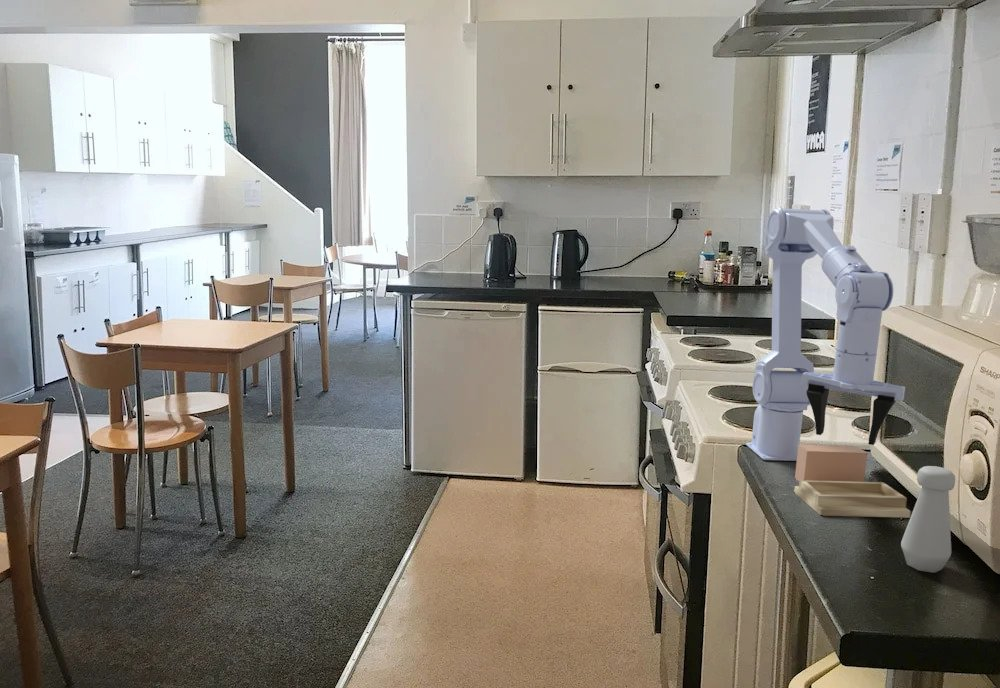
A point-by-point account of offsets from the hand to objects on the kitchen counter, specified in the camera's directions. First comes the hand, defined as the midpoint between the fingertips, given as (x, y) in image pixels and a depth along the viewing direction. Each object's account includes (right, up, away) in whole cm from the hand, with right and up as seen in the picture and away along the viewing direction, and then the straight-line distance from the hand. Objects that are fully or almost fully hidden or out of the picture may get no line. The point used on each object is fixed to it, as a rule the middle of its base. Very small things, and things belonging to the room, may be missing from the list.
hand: (845, 438), depth 135 cm
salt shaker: (+1, -14, -22) cm, 26 cm away
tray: (0, -10, 0) cm, 10 cm away
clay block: (+1, -9, +9) cm, 13 cm away
